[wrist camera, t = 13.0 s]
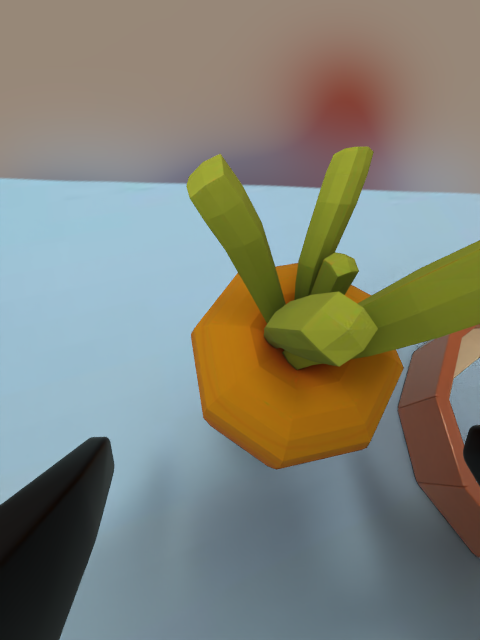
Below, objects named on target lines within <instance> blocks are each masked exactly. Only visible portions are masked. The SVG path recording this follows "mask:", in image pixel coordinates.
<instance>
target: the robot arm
mask: <svg viewBox="0 0 480 640" xmlns="http://www.w3.org/2000/svg"><path fill="white" fill-rule="evenodd" d="M463 458H464V460H465V463H466V464H467V466H468V468H469V469H470V471H471V473H472V474H473V476H474V478H475V480H476V481H477V483H478V485H479V486H480V425H475V426H472V427H471V428H470V429H469V432H468V435H467V439H466V442H465V445H464V449H463ZM113 473H114V460H113V454H112V449H111V444H110V440H109V438H107V437H92V438H89V439H88V440H86V441H85V442H84V443H82V444H81V445H80V446H78V447H77V448H76V449H74V450H73V451H72V452H70V453H69V454H68V455H66V456H65V457H64V458H62V459H61V460H60V461H58V462H57V463H56V464H54V465H53V466H52V467H50V468H49V469H48V470H46V471H45V472H44V473H42V474H41V475H40V476H38V477H37V478H36V479H34V480H33V481H32V482H30V483H29V484H28V485H26V486H25V487H24V488H22V489H21V490H20V491H18V492H17V493H16V494H14V495H13V496H12V497H10V498H9V499H8V500H6V501H5V502H4V503H3V504H1V505H0V640H59V638H60V636H61V633H62V630H63V627H64V625H65V622H66V619H67V617H68V614H69V611H70V609H71V606H72V603H73V601H74V598H75V595H76V592H77V590H78V587H79V584H80V582H81V579H82V576H83V574H84V571H85V568H86V566H87V563H88V560H89V557H90V555H91V552H92V549H93V546H94V543H95V540H96V537H97V534H98V530H99V526H100V523H101V519H102V515H103V511H104V507H105V504H106V500H107V496H108V492H109V488H110V485H111V481H112V477H113Z"/></svg>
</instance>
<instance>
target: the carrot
mask: <svg viewBox="0 0 480 640" xmlns="http://www.w3.org/2000/svg"><path fill="white" fill-rule="evenodd" d="M372 155H373V151H372V150H371V149H370V148H369V147H352V148H346V149H344V150H342V151H340V152H338V153H336V154H334V155H333V157H332V160H331V162H330V165H329V167H328V170H327V172H326V174H325V177H324V181H323V184H322V187H321V190H320V193H319V196H318V199H317V202H316V206H315V209H314V212H313V215H312V218H311V221H310V225H309V228H308V231H307V234H306V238H305V241H304V245H303V248H302V251H301V255H300V258H299V262H298V263H295V264H289V265H283V266H277V267H275V265H274V261H273V258H272V255H271V251H270V248H269V245H268V242H267V238H266V235H265V232H264V228H263V225H262V222H261V220H260V218H259V217H258V215H257V213H256V211H255V209H254V207H253V205H252V203H251V201H250V199H249V197H248V195H247V193H246V191H245V189H244V188H243V186H242V184H241V183H240V181H239V180H238V178H237V177H236V175H235V174H234V172H233V171H232V170H231V168H230V167H229V165H228V164H227V163H226V161H225V160H224V158H223V157H222V155H221V154H219V155H217V156H215V157H213V158H211V159H209V160H207V161H204V162H203V163H202V164H201V165H200V166H199V167H198V168H197V169H196V170H195V171H194V172H193V173H192V174H191V175H190V176H189V179H188V182H187V190H188V193H189V197H190V199H191V201H192V202H193V204H194V205H195V207H196V209H197V210H198V212H199V213H200V215H201V216H202V218H203V219H204V221H205V222H206V224H207V225H208V227H209V228H210V229H211V231H212V232H213V234H214V235H215V236H216V238H217V239H218V241H219V242H220V243H221V245H222V246H223V248H224V249H225V250H226V252H227V254H228V256H229V257H230V259H231V261H232V263H233V264H234V266H235V268H236V270H237V271H238V273H237V275H236V276H235V277H234V279H233V280H232V281H231V282H230V284H229V285H228V286H227V287H226V289H225V290H224V291H223V293H222V294H221V295H220V296H219V298H218V299H217V300H216V301H215V303H214V304H213V305H212V307H211V308H210V309H209V310H208V312H207V313H206V314H205V315H204V317H203V318H202V319H201V321H200V322H199V323H198V324H197V326H196V327H195V328H194V330H193V332H192V334H191V340H192V346H193V353H194V359H195V366H196V372H197V379H198V386H199V392H200V399H201V405H202V412H203V418H204V419H205V420H206V421H207V422H208V423H209V425H210V426H212V427H213V428H214V429H216V430H217V431H219V432H220V433H222V434H223V435H224V436H226V437H227V438H229V439H230V440H231V441H233V442H234V443H236V444H237V445H238V446H240V447H241V448H243V449H244V450H245V451H247V452H248V453H250V454H251V455H253V456H254V457H255V458H257V459H258V460H260V461H261V462H262V463H264V464H265V465H267V466H268V467H271V468H274V469H276V470H277V469H281V468H285V467H290V466H294V465H298V464H303V463H307V462H311V461H316V460H320V459H324V458H329V457H333V456H337V455H342V454H346V453H350V452H355V451H359V450H362V449H365V448H367V446H368V445H369V443H370V441H371V439H372V437H373V435H374V432H375V430H376V428H377V426H378V424H379V421H380V419H381V417H382V415H383V413H384V410H385V408H386V406H387V404H388V401H389V399H390V397H391V395H392V393H393V390H394V388H395V386H396V384H397V382H398V379H399V377H400V375H401V373H402V371H403V368H404V367H403V365H402V363H401V360H400V358H399V356H398V353H397V351H396V349H399V348H403V347H406V346H410V345H414V344H418V343H421V342H425V341H429V340H433V339H436V338H440V337H443V336H446V335H448V334H451V333H454V332H457V331H460V330H463V329H466V328H469V327H472V326H475V325H478V324H480V240H479V241H477V242H475V243H473V244H471V245H469V246H467V247H465V248H462V249H460V250H458V251H456V252H454V253H452V254H450V255H448V256H445V257H443V258H441V259H439V260H437V261H435V262H433V263H431V264H429V265H426V266H424V267H422V268H420V269H418V270H417V271H415V272H413V273H411V274H409V275H408V276H406V277H404V278H402V279H400V280H399V281H397V282H395V283H393V284H391V285H390V286H388V287H386V288H384V289H383V290H381V291H379V292H377V293H375V294H374V295H372V296H371V295H369V294H367V293H366V292H364V291H362V290H360V289H358V288H356V287H354V286H352V285H351V283H352V282H353V280H354V278H355V277H356V275H357V273H358V272H359V270H358V267H357V265H356V262H355V260H354V258H351V257H349V256H347V255H345V254H341V253H335V251H336V248H337V246H338V244H339V242H340V239H341V237H342V235H343V233H344V230H345V228H346V226H347V224H348V222H349V219H350V217H351V215H352V213H353V210H354V208H355V206H356V204H357V201H358V198H359V196H360V193H361V190H362V188H363V185H364V182H365V179H366V176H367V174H368V170H369V166H370V163H371V159H372Z"/></svg>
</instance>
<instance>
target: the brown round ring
mask: <svg viewBox="0 0 480 640" xmlns="http://www.w3.org/2000/svg"><path fill="white" fill-rule="evenodd" d="M478 358H480V324H478V325H475V326H472V327H469V328H466V329H463V330H460V331H457V332H454V333H451V334H448V335H446V336H443V337H440V338H436V339H433V340H429V341H428V342H426V343H425V344H424V345H422V346H421V347H420V348H418V349H417V350H416V351H414V353H413V355H412V359H411V362H410V366H409V370H408V373H407V377H406V381H405V384H404V388H403V391H402V395H401V399H400V402H399V406H398V408H399V409H398V412H399V416H400V420H401V424H402V428H403V432H404V435H405V439H406V443H407V447H408V451H409V455H410V458H411V462H412V466H413V470H414V474H415V478H416V481H417V482H418V485H419V486H420V487H421V488H422V490H423V491H424V492H425V493H426V495H427V496H428V497H429V499H430V500H431V501H432V502H433V504H434V505H435V506H436V507H437V509H438V510H439V511H440V512H441V514H442V515H443V516H444V517H445V519H446V520H447V521H448V522H449V524H450V525H451V526H452V528H453V529H454V530H455V531H456V533H457V534H458V535H459V536H460V538H461V539H462V540H463V541H464V543H465V544H466V545H467V546H468V548H469V549H470V550H471V552H472V553H473V554H474V555H475V556H477V557H478V558H480V486H479V485H478V483H477V482H476V480H475V478H474V476H473V474H472V473H471V471H470V469H469V468H468V466H467V464H466V463H465V460H464V458H463V449H464V443H463V440H462V437H461V434H460V431H459V428H458V425H457V422H456V419H455V416H454V413H453V410H452V407H451V404H450V401H449V398H450V393H451V388H452V384H453V379H454V378H455V377H456V376H457V375H458V374H460V373H461V372H462V371H463V370H465V369H466V368H467V367H468V366H469V365H471V364H472V363H473V362H474V361H476V360H477V359H478Z"/></svg>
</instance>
